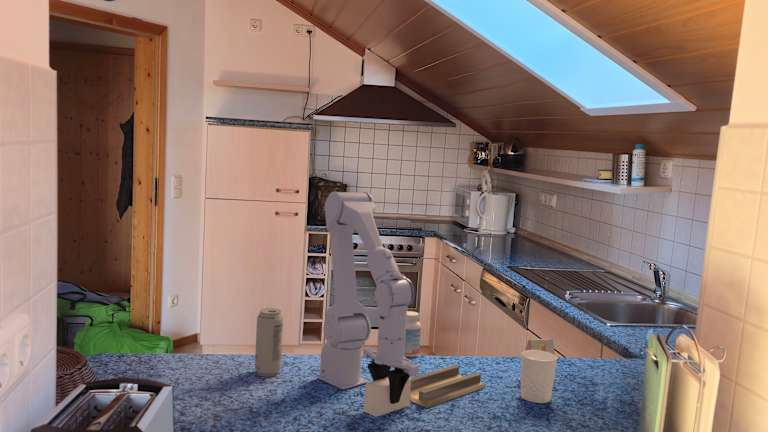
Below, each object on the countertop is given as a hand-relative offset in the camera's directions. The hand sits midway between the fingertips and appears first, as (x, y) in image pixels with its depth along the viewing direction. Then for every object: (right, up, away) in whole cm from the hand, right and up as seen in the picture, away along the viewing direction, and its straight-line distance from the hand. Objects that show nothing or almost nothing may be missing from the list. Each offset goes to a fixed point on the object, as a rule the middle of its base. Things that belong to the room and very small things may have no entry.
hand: (387, 399), depth 137 cm
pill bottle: (+6, +1, +38) cm, 39 cm away
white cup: (+34, -3, +12) cm, 36 cm away
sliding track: (+12, -2, +12) cm, 17 cm away
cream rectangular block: (0, -2, 0) cm, 2 cm away
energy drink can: (-28, +1, +17) cm, 33 cm away
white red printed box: (+37, -2, +25) cm, 45 cm away
